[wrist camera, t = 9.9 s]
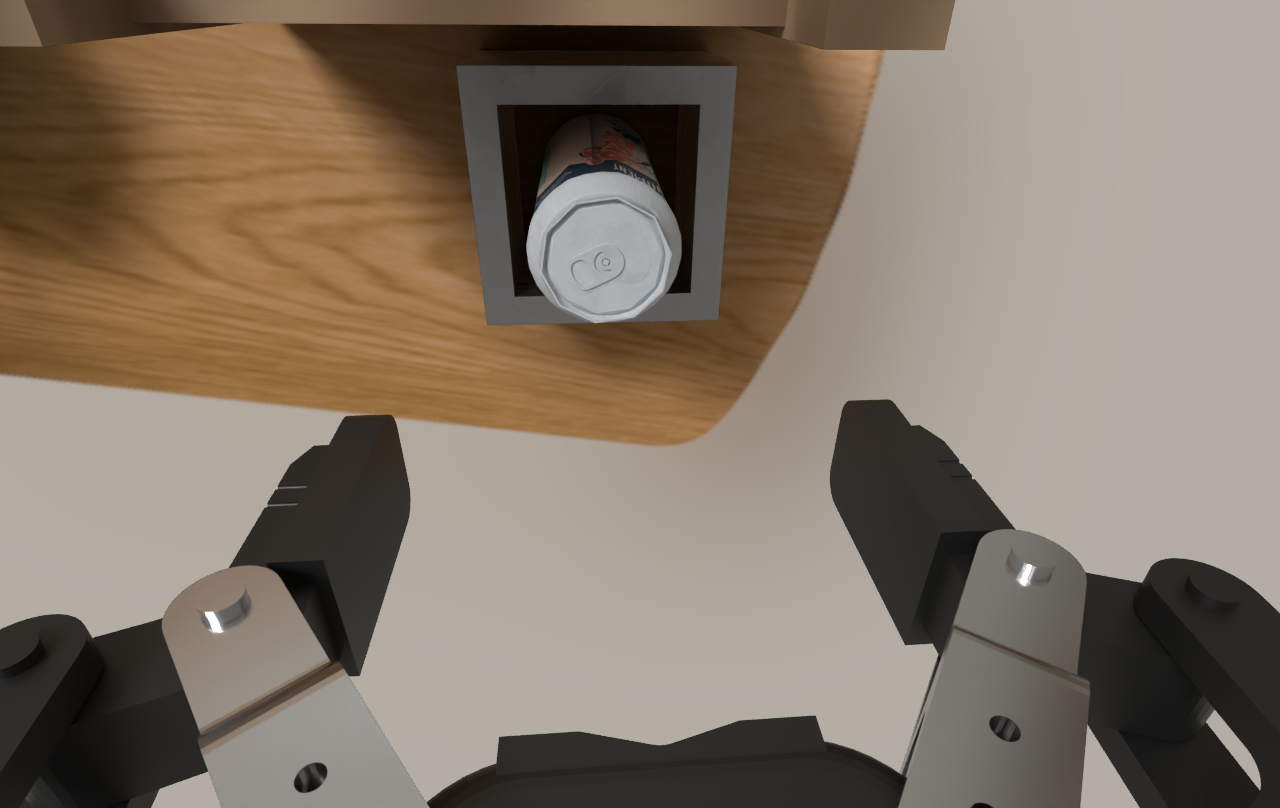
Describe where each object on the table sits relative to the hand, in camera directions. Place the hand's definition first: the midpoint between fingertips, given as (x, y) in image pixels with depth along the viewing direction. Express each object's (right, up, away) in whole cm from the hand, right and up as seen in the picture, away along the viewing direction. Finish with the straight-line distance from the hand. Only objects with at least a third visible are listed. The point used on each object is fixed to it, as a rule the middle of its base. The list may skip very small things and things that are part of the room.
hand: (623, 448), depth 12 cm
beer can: (-2, +11, +18) cm, 22 cm away
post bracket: (-2, +11, +18) cm, 21 cm away
